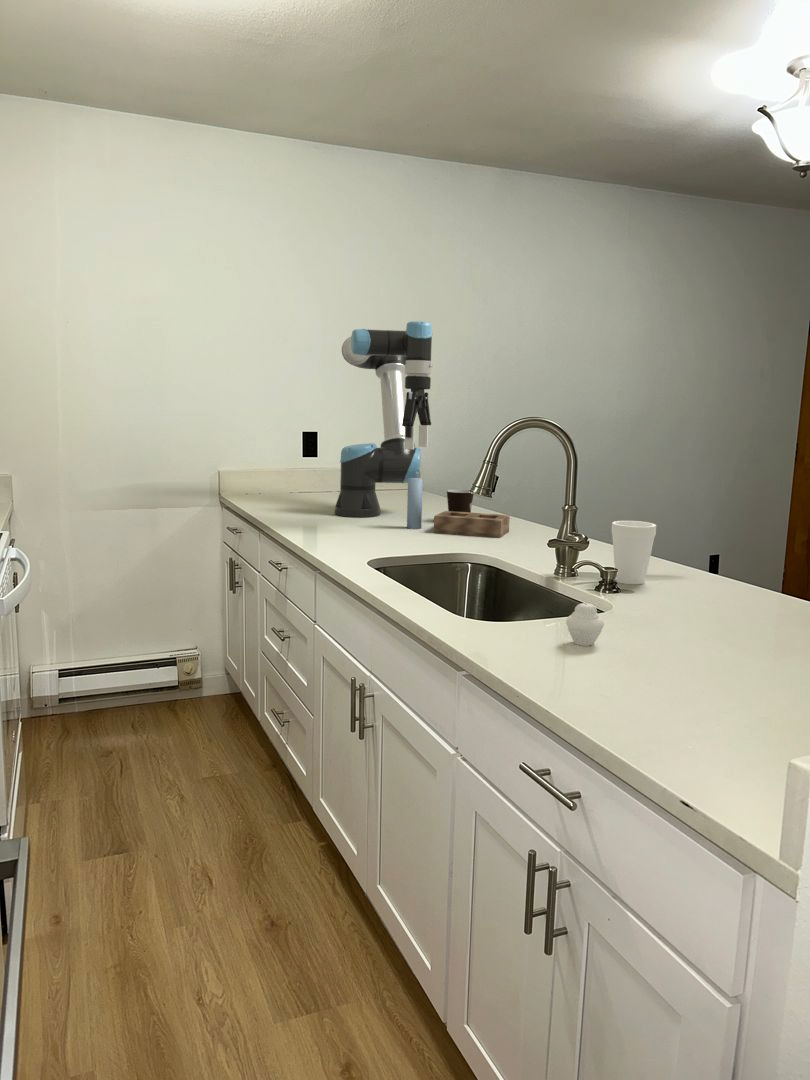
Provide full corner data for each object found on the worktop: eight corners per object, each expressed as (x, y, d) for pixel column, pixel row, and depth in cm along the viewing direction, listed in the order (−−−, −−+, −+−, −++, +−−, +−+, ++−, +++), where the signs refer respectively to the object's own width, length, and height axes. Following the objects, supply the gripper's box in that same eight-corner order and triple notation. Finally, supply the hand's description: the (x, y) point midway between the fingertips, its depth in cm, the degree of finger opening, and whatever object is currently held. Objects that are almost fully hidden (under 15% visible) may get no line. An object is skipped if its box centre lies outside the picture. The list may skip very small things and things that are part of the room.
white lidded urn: (597, 638, 145) (599, 598, 143) (606, 648, 138) (609, 607, 137) (561, 637, 144) (563, 597, 143) (569, 648, 138) (571, 606, 137)
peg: (404, 528, 256) (406, 478, 253) (409, 526, 260) (410, 477, 257) (418, 529, 254) (420, 479, 252) (423, 527, 259) (424, 478, 256)
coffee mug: (463, 525, 265) (464, 493, 263) (440, 522, 270) (441, 490, 268) (482, 521, 274) (484, 490, 272) (460, 518, 279) (461, 488, 277)
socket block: (433, 532, 249) (434, 515, 248) (444, 526, 260) (445, 510, 259) (500, 537, 243) (501, 520, 242) (508, 531, 254) (509, 515, 253)
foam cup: (600, 577, 192) (604, 521, 190) (634, 575, 196) (638, 520, 193) (625, 587, 184) (629, 527, 182) (660, 584, 187) (664, 526, 185)
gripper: (417, 374, 237) (415, 450, 240) (441, 376, 260) (439, 446, 263) (392, 374, 239) (390, 449, 242) (418, 376, 262) (416, 445, 266)
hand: (416, 448), depth 253 cm, fingers open, 13 cm apart
